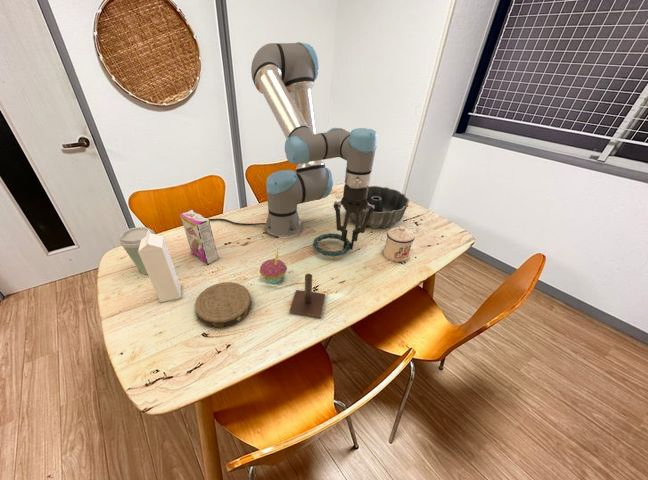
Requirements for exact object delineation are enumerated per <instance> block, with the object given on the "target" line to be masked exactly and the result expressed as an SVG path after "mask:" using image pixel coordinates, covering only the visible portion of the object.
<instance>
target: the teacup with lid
mask: <svg viewBox="0 0 648 480" xmlns="http://www.w3.org/2000/svg"><path fill="white" fill-rule="evenodd" d="M415 240H416V235H415V234H414V233H413V231H411V230H410V229H407V228H406V227H405V226H403V225H402V226H398V227H392V228H389V230H387V231H386V239H385V243H384V246H383V247H384V248H383V255H384V256H385V257H386V258H387V259H390V260H392V261H393V262H395V263H401V262H405V261H406V260H408V258H409V255H410V252H411V248H412V245H413V243H414V241H415Z"/></svg>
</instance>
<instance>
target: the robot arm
mask: <svg viewBox="0 0 648 480" xmlns="http://www.w3.org/2000/svg"><path fill="white" fill-rule="evenodd" d="M319 67H320V66H319V59H318V55H317V52H316V50H315V48H314V46H312V45H311V44H310V43H306V42H305V43H304V42H285V43H284V42H279V43H278V42H277V43H275V42H273V43H272V42H270V43H266V44H264V45H262V46H261V47H260V48H259V49H258V50H257V51H256V53H255V54H254V57H253V59H252V61H251V67H250V68H251V69H250V71H251V72H250V73H251V79H252V82H253V84H254V86H255V88H256V90H257V91H258V92H259V93H260V94H262V95H263V97H264V99H265V100H266V103H267V105H268V107H269V109H270V110H271V112H272V115H273V116H274V118H275V120H276V122H277V124H278V125H279V127H280V129H281V131H282V133H283V135H284V137H285V139H286V140H285V142H284V152H285V157H286V160H287V161H288V162H289V163H290V164H292V165H296V168H295V170H292V169H286V170H285V169H282V170H278V171H277V170H276V171H275V172H272V173H271V174H269V176H267V178H266V187H265V190H266V198H267V210H268V211H267V213H268V214H267V216H266V221H265V222H256V223H255V222H254V223H245V222H243V223H242V222H235V221H232V220H229V219H227V218H207V219H208V220H209V221H224V222H228V223H230V224H233V225H237V226H263V225H265V226H264V227H265V228H264V229H265V232H266V234H267V235H269V236H271V237H274V238H276V239H277V238H278V239H280V238H281V237H282V238H283V237H284V238H285V237H290V236H295V235H296V234H298V233H299V232H301V230H302V219H301V218H300V216H299V213H298V205H300V204H304V203H310V202H313V201H320V200H322V199H326V198H327V197H329V196H330V194H331V193H332V190H333V186H334V178H333V173H332V172H331V170H330V169H329V168H327V167H326V163H325V162H324V160H331V159H336V158H341V159H342V160H344V161H346V167H345V176H344V186H343V194H342V197H341V200H339V201H336V200H335V201H334V202H333V209H334V211H335V221H336V222H335V223H336V224H335V225H336V231H337V232H341V234H340V235H341V240H344V242H343V247H342V250H343V249H344V248H345V247H346V239H348V231H349V230H348V229H347V227H348V222H349V220H350V218H349V215H350V213H356V219H355V222H354V223H355V226H354V230H353V229H352V234H351V235H352V236H351V241H350V242H351V248H350V251H353V248H354V242H357V241H358V238H359V235H360V234H364V233H365V232H366V229H367V226H366V225H367V223H368V220H369V217H370V214H371V213H372V212H373V211H374V205H370V204H369V203H368V200H367V196H368V190H369V186H370V183H371V177H372V171H373V165H374V161H375V160H374V159H375V155H376V149H377V140H378V133H377V131H376V130H375V129H372V128H366V127H358V128H357V127H356V128H354V129H352V130H351V131H348V130H346V129H344V128H342V127H331V128H330V129H329V130H327V131H325V132H318V133H317V125H316V118H315V112H314V111H315V110H314V103H313V96H312V90H313V88H314V86H315V81H316V80H317V78H318V75H319V72H318V71H319ZM342 207H343V209H344V210H345V215H344V219H343V223H342V221H341V208H342ZM365 207H367V208H366V210H367V211H366V214H365V217H364V220H363V223H362V224H361V226H360V224H359V215H360V212H361V211H362V210H363V209H364V208H365ZM341 240H340V241H341Z"/></svg>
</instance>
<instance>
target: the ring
mask: <svg viewBox="0 0 648 480" xmlns="http://www.w3.org/2000/svg"><path fill="white" fill-rule="evenodd" d="M341 235H342V234H339V233H331V232H329V233H323V234H319V236H317V237H315V238H314V240H313V243H312V247H313V249H314V250H315V252H316V253H318V254H320V255H323V256H325V257H332V258H335V257H342V256H344V255H346V254H347V253H348V252H350V251H351V250H350V248H351V241H350V240H349V239H348V238H347V239H346V247H345V248H344V249H343V248H342V249H341V250H335V251H333V250H326V249H324V248H321V246H320V245H319V242H322V241H323V240H327V239H333V240H334V239H336V240H339V241H341V242H343V243H344V240H341Z"/></svg>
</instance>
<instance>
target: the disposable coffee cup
mask: <svg viewBox="0 0 648 480" xmlns="http://www.w3.org/2000/svg"><path fill="white" fill-rule="evenodd" d="M148 229H149V231H150V233H152V234H155V235H156V233H155V232H154V230H153V229H151V228H149V227H146V226H136V227H129V228H127V229H125V230H123V231H122V232H120V233H119V234H118V235H119V239H118V241H119V245H120V246H121V247H122V248H123V249H124V250H125V253H126V254H127V255H128V257H129V258H130V259H131V261H132V262H133V263H134V266H136V268H137V269H138V271H139V272H141V273H142V274H144V275H148V273H147V271H146V269H145V266H144V264H143V262H142V260H141V257H140V255H139V253H138V250H139V246H140V242H141V240H142V239H143V238H144V237H146V235H147V231H148Z"/></svg>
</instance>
